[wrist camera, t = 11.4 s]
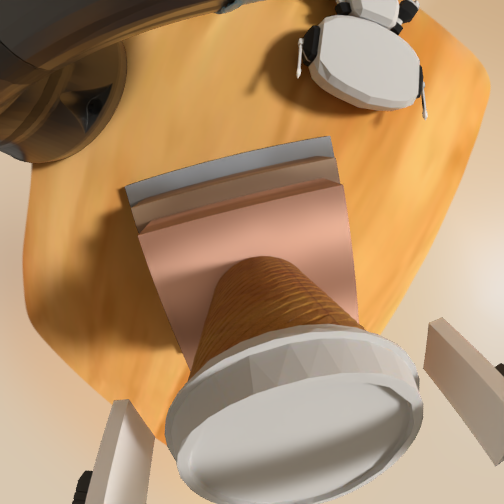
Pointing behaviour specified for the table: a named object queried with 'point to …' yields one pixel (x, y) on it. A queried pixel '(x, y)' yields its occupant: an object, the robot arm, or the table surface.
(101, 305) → the table surface
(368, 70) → the robot toy
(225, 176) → the pink brown stepped block
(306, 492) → the disposable coffee cup
